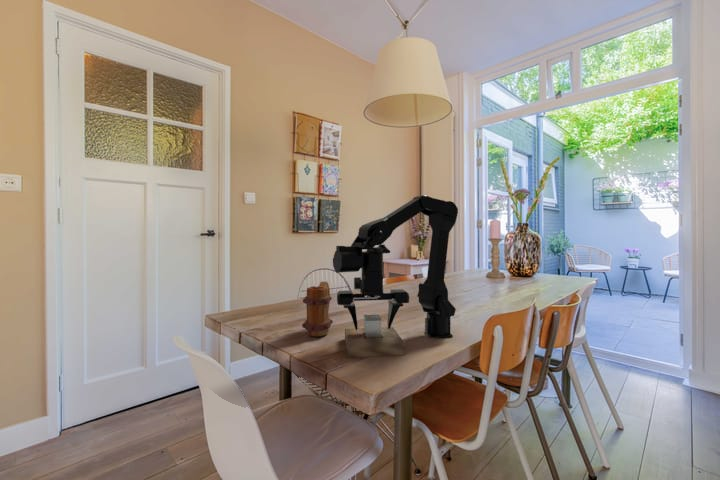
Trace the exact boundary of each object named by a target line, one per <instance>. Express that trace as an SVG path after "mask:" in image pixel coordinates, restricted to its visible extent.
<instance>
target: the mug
mask: <svg viewBox="0 0 720 480" xmlns="http://www.w3.org/2000/svg"><path fill="white" fill-rule="evenodd" d="M330 293H331V290H330V285H329V282H328V281H320V283H319V285H318V286H310V287H307V289H306V296H305V297H304V298H303V299H302V303H304V304H305V305H306V320H305V321H304V322H303V323H302V325H301V327H302V328H304V329H305V331H306V334H307V335H308V336H309V337H315V338H316V337H317V338H318V337H324V336H326V335H327V334H328V333H329V332H330V331H329V330H330V328H331V326H332V324H333V321H334V320H333V319H331V318H330V317H329V316H330V315H329V310H330V304H331V303H330V302H331V301H332V299H333V298H332V297H331V294H330Z"/></svg>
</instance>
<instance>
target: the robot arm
mask: <svg viewBox="0 0 720 480" xmlns="http://www.w3.org/2000/svg"><path fill="white" fill-rule="evenodd" d="M420 213H421V214H422V215H425V216H427V217H428V223H429V226H430V228H431V231H432V233H431V240H430V241H431V242H430V249H429V259H428V266H427V275H426V279H425V280H424V282H423V283H421V282H419V284H418V292H417V295H416V296H417V297H418V303H419V304H420V305H421V308H422V311H423V312H424V313H426V318H424V333H426V335H428V336H429V337H430V338H431V339H432V338H433V339H435V338H452V337H454V335H453V334H452V333H451V317H454V316H455V313H456V307H455V306H454V305H453V304H452V303H451V302H450V300H449V291H448V288H447V285H446V282H445V273H446V265H447V255H448V248H449V246H448V245H449V240H450V239H449V238H450V232H451V230H452V229H453V227H454V226H455V224H456V223H457V218H458V214H459V208H458V206H457V205H456V204H455V202H454V201H451V200H449V201H446V200H444V199H443V200H442V199H438V198H434V197H431V196H428V195H425V194H423V195H417V196H414V197H413V198H412V199H411V200H410V201H408V202H406V203H405V204H403V205H401V206H400V207H398V208H396V209H395V210H393V211H392V212H391V213H389V214H387V215H386V216H384V217H382V218H378V219H375V220H373V221H370V222H367V223H364V224H363V225H361V226H359V228H358V234H357V236H356V237H355V239H354V240H353V242H352V244H351V245H350V246H348V245H346V246H345V245H336V247H335V251H334V255H333V257H332V266H333V270H334V271H335V273H337V274H341V273H355V272H359V271H360V270H361V276H360V277H353V289H354V290H359V292H360V293H353V291H352V290H338V291H337V293H336V302H337V305H338V306H343V308H344V309H347V310H348V312H349V314H350V316H351V318H352V322H353V326H354V329H356V330H357V328H358V319H357V310H356V305H355V302H357V301H358V302H359V301H361V302H362V301H363V302H364V301H365V302H366V301H387V302H388V313H387V322H386V323H387V327H388V329H390V327H392V324H393V322H394V319H395V317H396V315H397V313H398V311H399V309H400V307H403V306H404V304H409V303H410V294H409V292H407V291H406V290H405V289H403V288H401V289H399V288H398V289H397V288H396V289H390V292H384V254H390V253H391V250H390V249H389V248H388V247H386V245H385V244H384V243H385V242H386V241H387V240H388V239H389V238H390V237H391V236H392V234H393V232H394V231H395V230H396V229H397V228H398V227H400V226H402V225H403V224H405V223H406V222H408V221H410V220H411V219H412V218H414V217H415V216H417V215H419V214H420ZM376 246H377V247H376ZM363 250H365V251H363Z"/></svg>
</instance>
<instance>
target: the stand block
mask: <svg viewBox="0 0 720 480" xmlns="http://www.w3.org/2000/svg"><path fill="white" fill-rule="evenodd" d="M344 343H345V347H346V353H347V358H363V357H365V358H366V357H383V356H384V357H387V356H389V357H390V356H403V355H404V356H405V354H406V353H405V349H406V347H405V346H406V344H405V341H404V339H402V337H401V336H400V335H399V333H398V332H397V331H396V329H395V328H394V326H391V327H390V329H388V326H386V327H384V326H383V327H381V338H367V339H364V327H360V328H358V327H357V330H356V329H355V328H344Z"/></svg>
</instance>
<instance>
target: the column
mask: <svg viewBox="0 0 720 480" xmlns="http://www.w3.org/2000/svg"><path fill="white" fill-rule="evenodd" d="M363 328H364V339H367V338H381V328H382V317H381V316H380V314H363Z"/></svg>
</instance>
